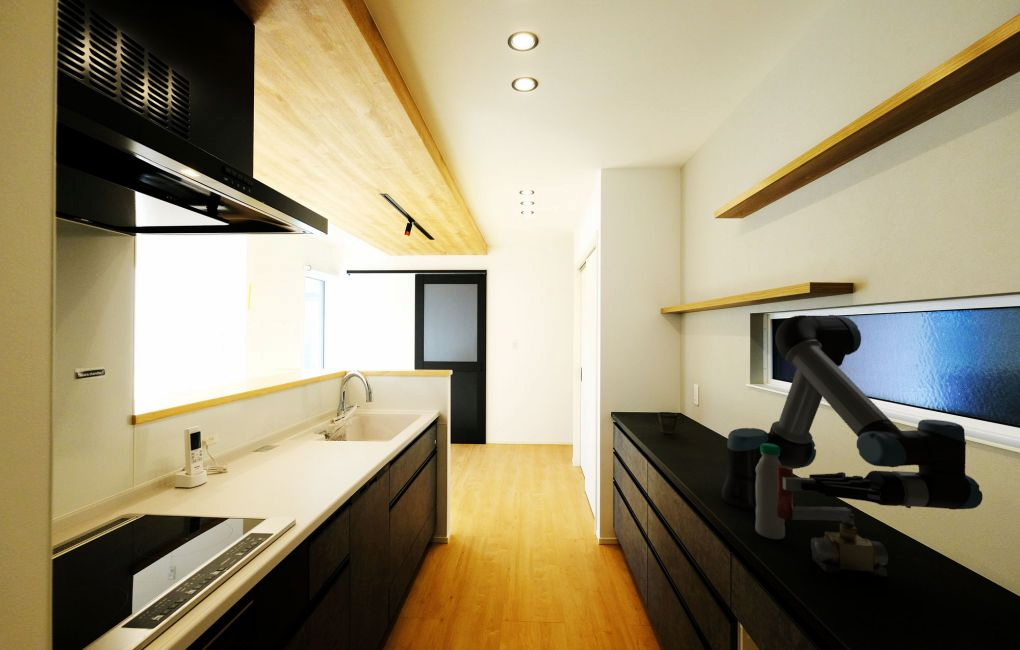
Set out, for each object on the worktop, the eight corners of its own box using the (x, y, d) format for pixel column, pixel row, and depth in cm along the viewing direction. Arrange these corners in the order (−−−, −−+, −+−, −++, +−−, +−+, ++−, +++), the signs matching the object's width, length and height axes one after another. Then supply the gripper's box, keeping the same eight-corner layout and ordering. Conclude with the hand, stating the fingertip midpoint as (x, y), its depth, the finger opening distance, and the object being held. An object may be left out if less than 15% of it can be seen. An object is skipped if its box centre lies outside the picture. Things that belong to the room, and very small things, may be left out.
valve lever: (847, 522, 104) (847, 466, 104) (858, 528, 100) (858, 470, 101) (774, 521, 104) (774, 465, 104) (782, 527, 101) (782, 469, 101)
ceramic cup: (655, 432, 232) (655, 414, 232) (662, 428, 240) (661, 411, 240) (679, 436, 224) (679, 417, 224) (685, 432, 231) (685, 414, 231)
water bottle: (778, 529, 121) (778, 442, 121) (789, 541, 114) (789, 449, 114) (751, 527, 123) (751, 440, 123) (760, 539, 116) (760, 447, 116)
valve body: (823, 572, 100) (823, 530, 100) (809, 558, 106) (809, 518, 106) (889, 577, 98) (889, 534, 98) (871, 563, 104) (871, 522, 104)
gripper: (917, 517, 91) (799, 511, 94) (873, 493, 104) (770, 488, 107) (917, 482, 91) (799, 477, 94) (873, 463, 104) (770, 459, 107)
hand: (784, 483), depth 100 cm, fingers closed
